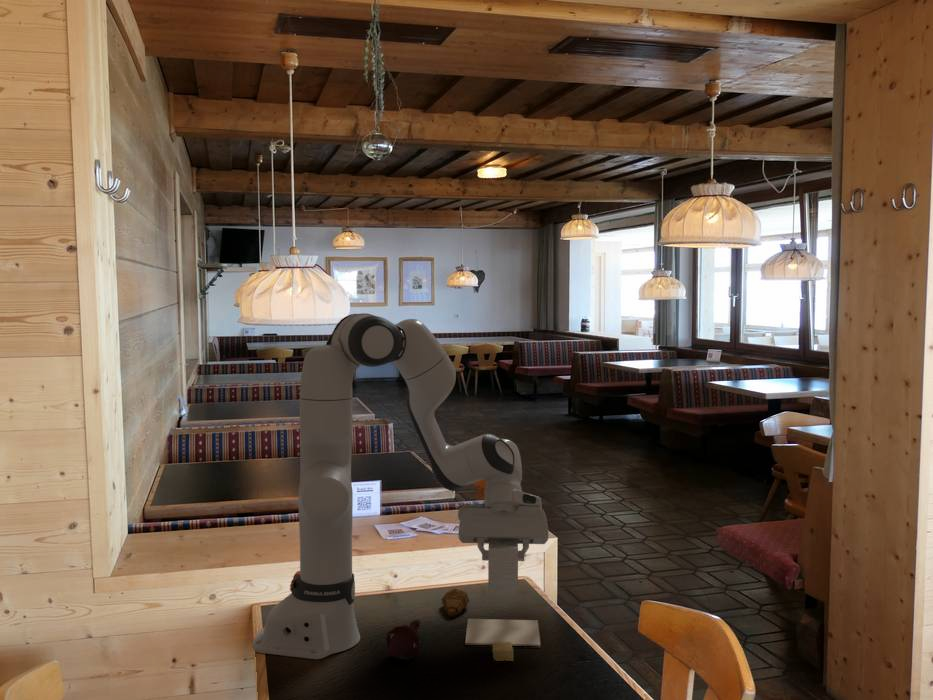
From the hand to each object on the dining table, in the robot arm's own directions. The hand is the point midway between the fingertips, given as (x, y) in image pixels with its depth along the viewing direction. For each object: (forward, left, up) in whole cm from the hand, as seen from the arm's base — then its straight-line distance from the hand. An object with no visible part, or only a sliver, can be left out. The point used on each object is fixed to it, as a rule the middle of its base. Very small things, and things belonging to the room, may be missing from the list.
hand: (503, 559), depth 174 cm
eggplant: (-20, -13, -17) cm, 29 cm away
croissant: (-11, +15, -17) cm, 25 cm away
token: (0, -11, -17) cm, 20 cm away
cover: (0, +1, -6) cm, 6 cm away
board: (0, 0, -17) cm, 17 cm away
